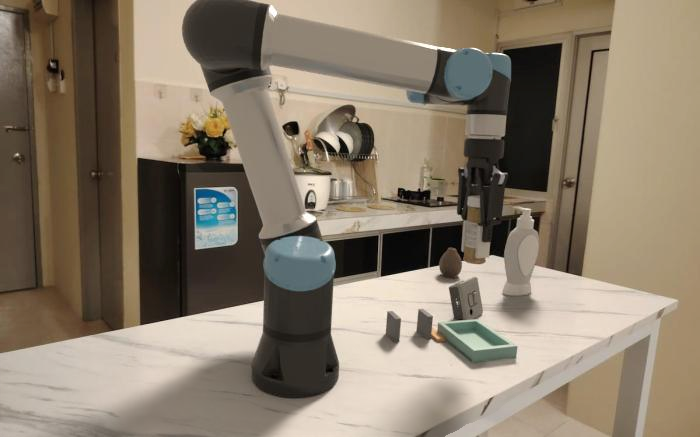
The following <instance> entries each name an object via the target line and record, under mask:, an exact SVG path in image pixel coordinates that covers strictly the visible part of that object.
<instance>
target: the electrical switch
mask: <svg viewBox="0 0 700 437" xmlns="http://www.w3.org/2000/svg"><path fill="white" fill-rule="evenodd" d="M478 279H479V278H478V277H477V276H472V277H469V278H467V279H466V280H461V281H458V282H457V283H453V284H451V285H450V286H448V291H449V292H448V293H449V296H450V302H451V303H450V304H451V308H452V309H451V310H452V314H453V319H457V320H458V319H459V320H473V319H477V317H479V316H480V315H483V312H484V308H483V303H482V297H481V291H480V286H479V280H478Z"/></svg>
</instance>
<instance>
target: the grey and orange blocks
mask: <svg viewBox="0 0 700 437" xmlns="http://www.w3.org/2000/svg"><path fill="white" fill-rule="evenodd" d="M417 311H418V312H417V322H416V332H418V333H419V334H420V335H421V336H422V337H423V338H424V339H425V340H427V339H433V340H434V341H436V343H437V342H447V341H446V338H445V337H444V336H442V335H441V334H440V333H439V332H438V331H437V330H436V329H435V328H434V327H433V321H434V316H433V315H432V314H431V313H429V312H428V311H427V310H426V309H424V308H418V310H417ZM401 323H402V318H401V316H399V315H398V314H397V313H395V312H394V311H393V310H389V311H388V310H387V313H386V325H385V334H386V335H387V337H389V339H391V341H392V342H394V343H396V342H400V339H401V338H400V337H401Z"/></svg>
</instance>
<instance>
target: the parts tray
mask: <svg viewBox="0 0 700 437" xmlns="http://www.w3.org/2000/svg"><path fill="white" fill-rule="evenodd" d="M436 331H438V332H439V333H440V334H441V335H442V336H444V337H445V338H446V341H445V342H447V343H448V344H449V345H450V346H452V347H453V348H454V349H456V350H457V351H458V352H459V353H461V355H463V356H464V357H465V358H466V359H468V361H469V362H471V363H472V364H475V363H483V362H490V361H493V362H494V361H500V360H508V359H516V358H517V354H518V345H517V344H515V343H514V342H512V341H511V340H509V339H508V338H506V337H505V336H503V335H502V334H500V333H499V332H498V331H496V330H495V329H493V328H491V327H490V326H489V325H487V324H485V323H484V322H482V321H481V320H479V319H478V318H474V319H473V320H463V319H460V320H451V321H439V322H437V330H436Z"/></svg>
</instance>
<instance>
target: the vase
mask: <svg viewBox="0 0 700 437" xmlns="http://www.w3.org/2000/svg"><path fill="white" fill-rule="evenodd" d="M438 265H439V266H438V267H439V268H438V269H439V272H440V273H441V275H442V276H443V277H445V278H456V277H458V276H459V275H460V274H461V272H462V269H463V268H462V267H463V262H462V258H461V256H460V254H459V253H458V251H457V249H456V248H454V247H448V248H447V250H446V251H445V252H444V253H443V254H442V255H441V257H440V259H439V263H438Z"/></svg>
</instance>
